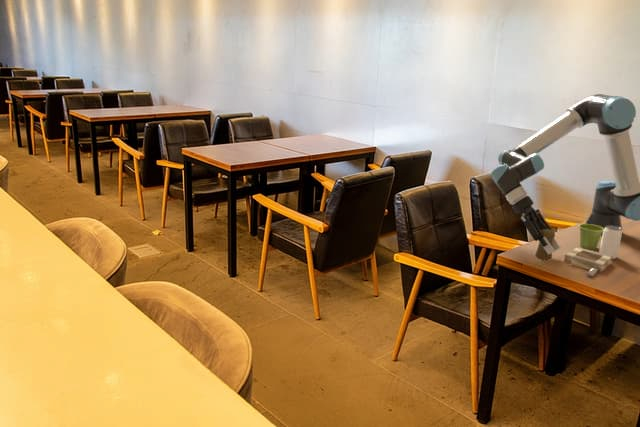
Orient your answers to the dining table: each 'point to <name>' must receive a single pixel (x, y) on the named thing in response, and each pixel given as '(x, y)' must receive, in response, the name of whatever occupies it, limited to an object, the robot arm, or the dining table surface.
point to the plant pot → (590, 235)
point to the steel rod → (592, 271)
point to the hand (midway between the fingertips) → (554, 251)
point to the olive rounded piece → (541, 251)
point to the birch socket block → (588, 259)
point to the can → (610, 241)
